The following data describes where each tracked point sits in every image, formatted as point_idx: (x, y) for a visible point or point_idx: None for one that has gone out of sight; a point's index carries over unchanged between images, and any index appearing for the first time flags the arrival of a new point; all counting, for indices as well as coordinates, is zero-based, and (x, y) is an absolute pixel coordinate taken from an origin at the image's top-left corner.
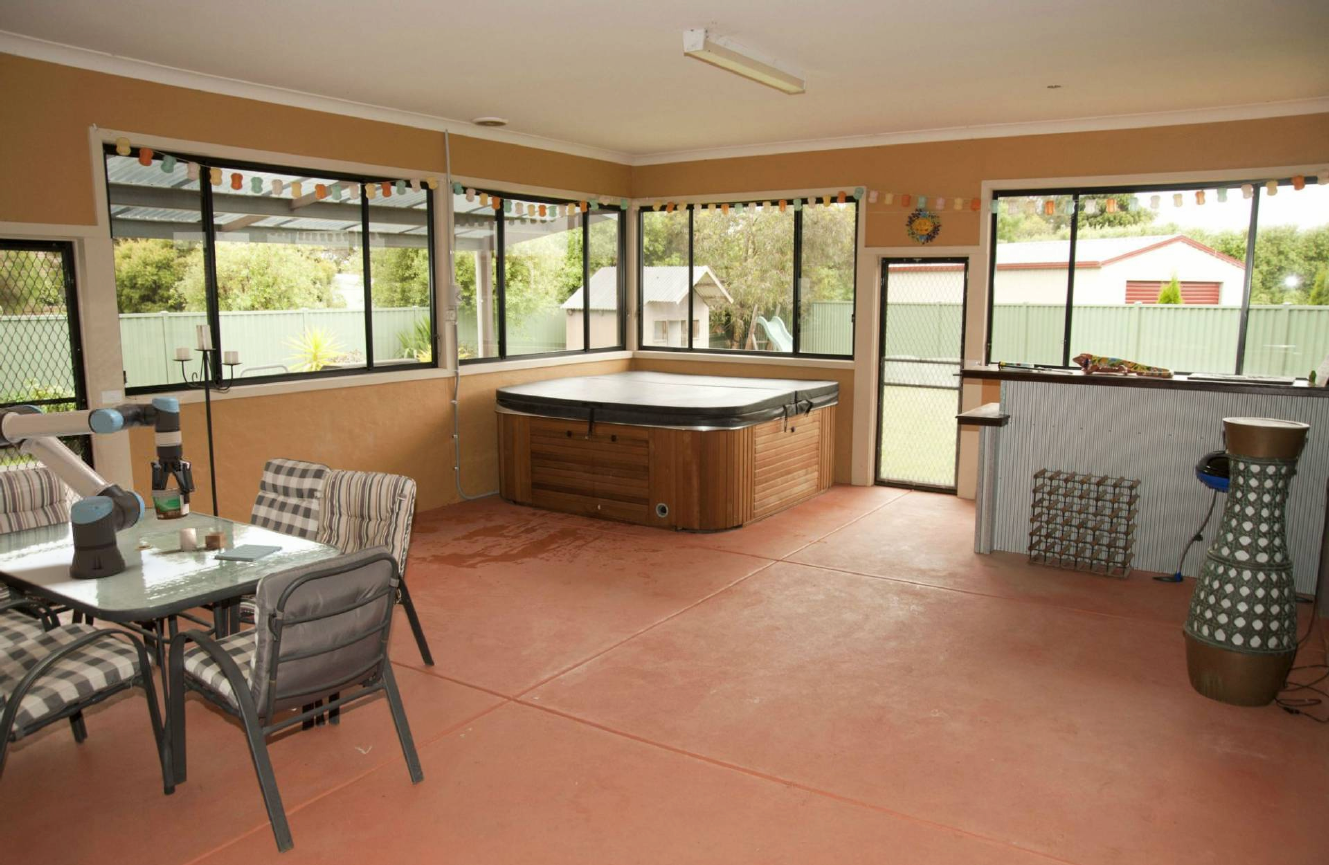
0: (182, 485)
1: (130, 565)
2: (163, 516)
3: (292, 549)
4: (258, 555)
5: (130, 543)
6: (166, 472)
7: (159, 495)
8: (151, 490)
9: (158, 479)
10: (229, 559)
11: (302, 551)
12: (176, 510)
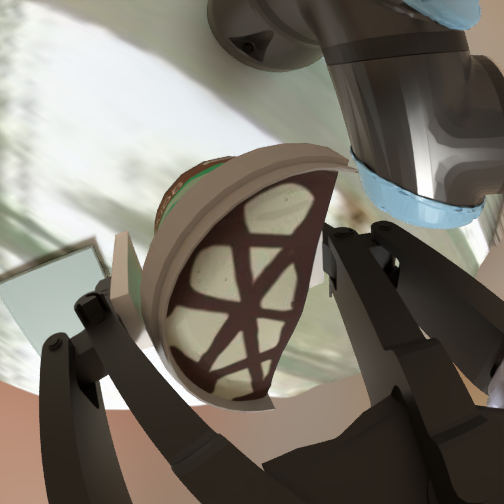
0: (108, 371)
1: (251, 85)
2: (203, 165)
3: (38, 373)
4: (10, 307)
5: (394, 222)
6: (376, 407)
7: (235, 163)
8: (353, 168)
9: (419, 303)
10: (51, 260)
11: (11, 372)
12: (157, 227)
